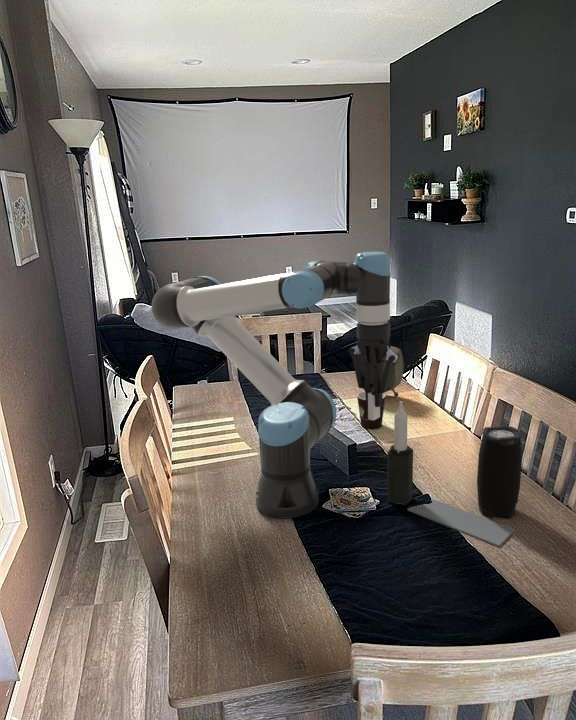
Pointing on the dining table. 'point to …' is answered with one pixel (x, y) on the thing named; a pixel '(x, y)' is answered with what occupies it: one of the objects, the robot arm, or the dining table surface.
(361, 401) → the coffee mug
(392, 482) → the candle
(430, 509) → the candle mat
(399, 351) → the tabletop clock
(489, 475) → the portable speaker
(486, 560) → the dining table surface
